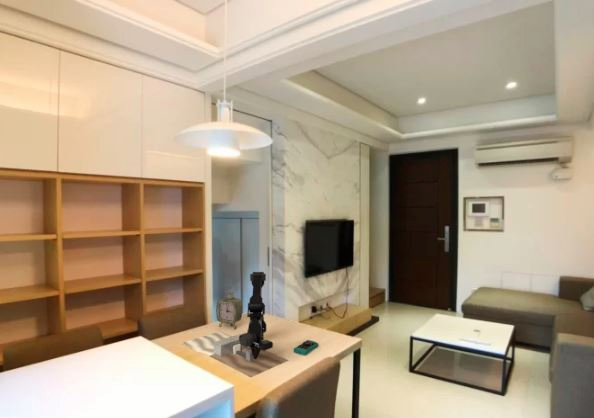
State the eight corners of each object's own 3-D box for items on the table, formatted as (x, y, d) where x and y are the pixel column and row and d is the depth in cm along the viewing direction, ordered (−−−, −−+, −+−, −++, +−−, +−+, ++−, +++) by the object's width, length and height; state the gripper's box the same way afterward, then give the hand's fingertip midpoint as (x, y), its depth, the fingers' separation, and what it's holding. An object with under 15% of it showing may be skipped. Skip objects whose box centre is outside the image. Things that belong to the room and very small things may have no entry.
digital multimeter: (318, 347, 190) (318, 341, 190) (305, 356, 178) (305, 350, 178) (306, 344, 194) (307, 338, 194) (293, 353, 181) (293, 347, 181)
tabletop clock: (216, 327, 218) (216, 287, 218) (224, 323, 227) (224, 284, 227) (235, 330, 213) (236, 289, 213) (243, 326, 221) (244, 286, 221)
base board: (219, 333, 208) (219, 331, 208) (288, 362, 170) (288, 360, 170) (183, 344, 191) (183, 342, 191) (250, 379, 152) (250, 377, 152)
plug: (231, 348, 184) (231, 340, 184) (255, 358, 171) (256, 350, 171) (225, 350, 181) (225, 342, 181) (249, 361, 168) (249, 353, 168)
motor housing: (245, 344, 189) (245, 332, 189) (252, 347, 185) (252, 334, 185) (213, 355, 174) (213, 342, 174) (220, 358, 170) (220, 345, 170)
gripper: (230, 326, 169) (229, 358, 168) (255, 335, 156) (255, 370, 156) (248, 320, 177) (247, 351, 177) (273, 329, 164) (273, 362, 164)
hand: (255, 359), depth 168 cm, fingers closed
